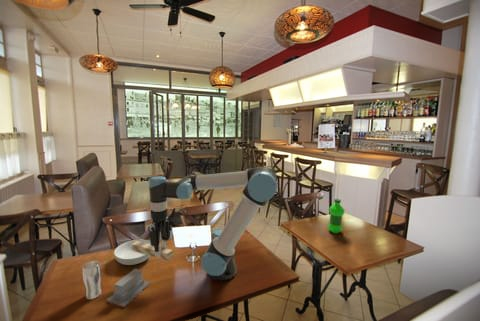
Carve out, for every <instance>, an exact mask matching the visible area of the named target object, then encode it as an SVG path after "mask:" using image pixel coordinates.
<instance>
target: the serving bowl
mask: <svg viewBox="0 0 480 321" xmlns="http://www.w3.org/2000/svg"><path fill="white" fill-rule="evenodd" d="M136 241H139V242H143V243H147V244H151V243H150V240H149V239H141V238H140V239H133V240H132V239H131V240H128V241H126V242H123V243H121V244H120V245H118V246H117V247H116V248H115V250H114V251H113V255H114V259H115V260H116V261H117V262H118V263H119V264H121V265H125V266H134V265H137V264H138V265H139V264H140V263H143V262H145V261H147V260H148V259H149V258H150V257H151V256H150V255H146V254H143V253H139V252H135V251H132V244H133V243H135V242H136Z"/></svg>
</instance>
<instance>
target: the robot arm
mask: <svg viewBox="0 0 480 321" xmlns="http://www.w3.org/2000/svg"><path fill="white" fill-rule="evenodd" d="M148 182H149V184H148V185H149V187H148V189H149V198H150V199H149V202H150V218H151V219H152V221H151V225H150V226H148V227H147V230H148V232H149V241H150V243H151V246H154V249H155V257H154V258H157V257H158V259H161V247H162V248H166V249H167V245H168V244H167V241H168V240H169V239H170V238H169V237H170V222H171V217H168V214H169V213H168V199H178V200H188V199H190V198H191V197H192V194H193V191H205V190H215V189H226V188H227V189H231V188H241V187H244V188H243V190H242V195H243V197H242V198H241V200H240V201H239V203H238V205H237V206H236V208H235V209H234V211H233V213H232V214H231V216H230V218H229V219H228V221H227V222H226V224H225V226H224V227H223V228H219V229H215V230H213V231H212V232H211V241H210V243H209V245H208V247H207V248H206V250H205V252H204V254H203V255H202V256H201V261H200V263H201V264H200V265H201V267H202V269H203V271H204V272H205V273H206V274H208V276H209V277H210V278H211V279H213V280H216V281H218V280H220V281H223V280H225V281H228V279H229V280H231V279H233V278H234V277H235V276H236V275H235V274H237V265H236V262H235V258H234V257H235V256H234V255H235V252H236V250H235V247H236V245H237V244H238V242H239V240H240V239H241V237H242V236H243V234H244V233H245V231H246V230H247V228H248V226H249V225H250V223H251V222H252V220H253V218H254V217H255V216H256V214H257V213H258V211H259V209H260V208H263V207H265V206H267V204H268V202H269V200H271V199H272V198H273V197H274V195H275V194H276V192H277V189H278V182H277V175H276V172H275V171H274V170H273V169H272V168H270V167H268V166H258V167H251V168H247V169H246V170H242V171H232V172H222V173H221V172H220V173H210V174H199V175H198V174H197V175H194V174H188V175H186V176H184V177H183V178H181V179H180V180H178V181H167V178H166V176H163V175H162V176H161V175H159V176H152V177H150V178H149V181H148ZM160 238H161V239H160ZM233 276H234V277H233ZM232 277H233V278H232ZM223 282H224V281H223Z"/></svg>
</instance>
